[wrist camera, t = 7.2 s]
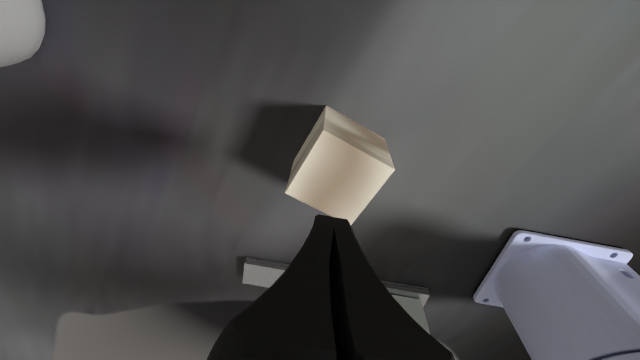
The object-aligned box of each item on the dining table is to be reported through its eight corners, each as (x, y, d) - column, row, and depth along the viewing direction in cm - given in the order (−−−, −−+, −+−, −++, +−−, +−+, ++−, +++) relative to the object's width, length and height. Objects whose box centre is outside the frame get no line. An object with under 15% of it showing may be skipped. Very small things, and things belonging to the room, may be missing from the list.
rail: (427, 287, 28) (429, 295, 27) (418, 305, 29) (420, 313, 28) (246, 256, 27) (244, 263, 26) (244, 276, 28) (242, 283, 27)
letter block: (384, 138, 21) (395, 169, 17) (347, 189, 23) (349, 227, 19) (326, 104, 20) (323, 129, 16) (292, 161, 22) (283, 195, 18)
